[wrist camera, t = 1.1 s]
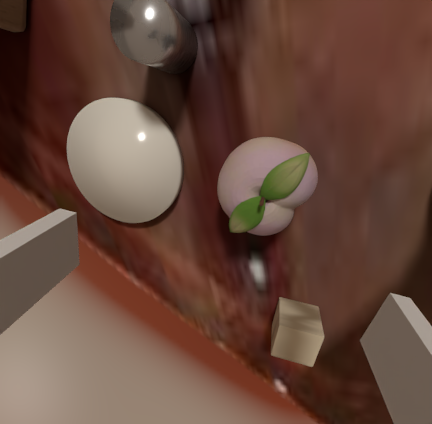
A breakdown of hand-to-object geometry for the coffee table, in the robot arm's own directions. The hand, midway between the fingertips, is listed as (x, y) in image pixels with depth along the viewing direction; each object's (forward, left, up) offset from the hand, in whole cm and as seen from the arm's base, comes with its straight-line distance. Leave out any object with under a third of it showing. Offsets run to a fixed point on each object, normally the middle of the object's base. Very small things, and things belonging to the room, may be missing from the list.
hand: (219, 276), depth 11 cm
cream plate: (+15, +6, -20) cm, 25 cm away
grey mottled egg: (+13, -8, -20) cm, 25 cm away
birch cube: (-13, +16, -20) cm, 28 cm away
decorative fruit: (-1, 0, -20) cm, 20 cm away
